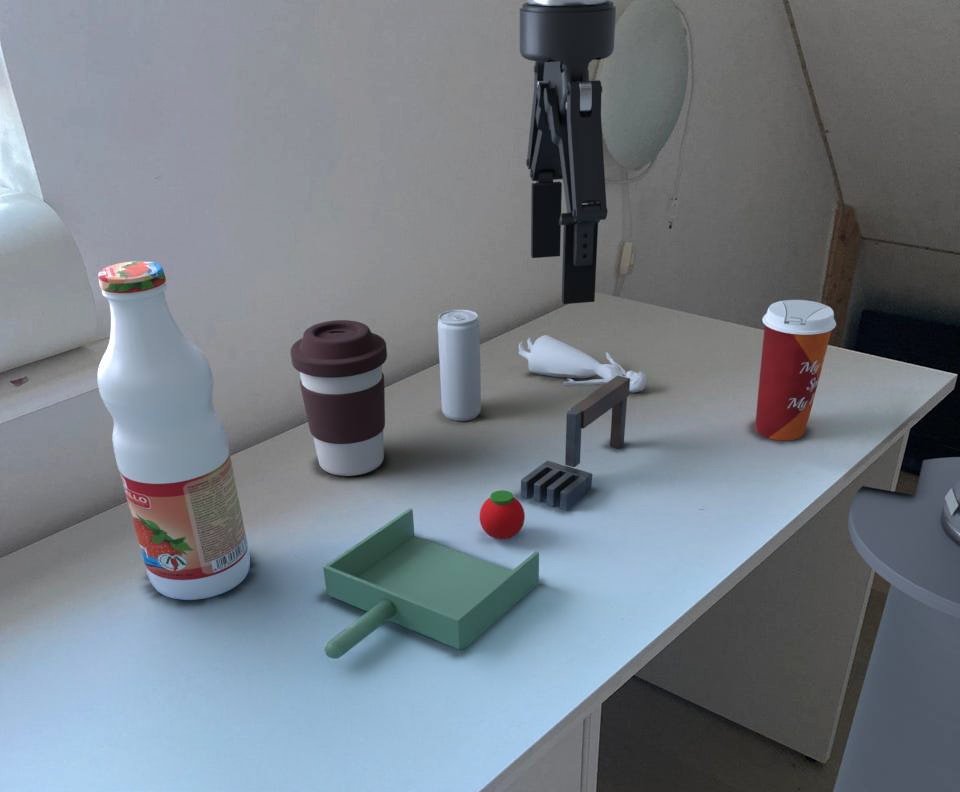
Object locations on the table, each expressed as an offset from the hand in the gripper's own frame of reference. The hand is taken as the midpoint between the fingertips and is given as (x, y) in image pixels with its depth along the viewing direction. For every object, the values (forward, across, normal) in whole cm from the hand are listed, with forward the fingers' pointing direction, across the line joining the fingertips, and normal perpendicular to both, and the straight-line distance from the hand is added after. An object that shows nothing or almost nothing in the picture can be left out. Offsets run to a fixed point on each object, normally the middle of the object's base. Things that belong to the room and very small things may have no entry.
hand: (560, 278), depth 89 cm
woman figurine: (+22, -30, +10) cm, 38 cm away
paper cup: (+22, -10, +29) cm, 38 cm away
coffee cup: (+22, -12, -21) cm, 33 cm away
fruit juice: (+22, +8, -36) cm, 43 cm away
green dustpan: (+22, +18, -17) cm, 33 cm away
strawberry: (+20, +7, -7) cm, 22 cm away
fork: (+22, -4, +4) cm, 23 cm away
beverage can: (+22, -22, -7) cm, 32 cm away
